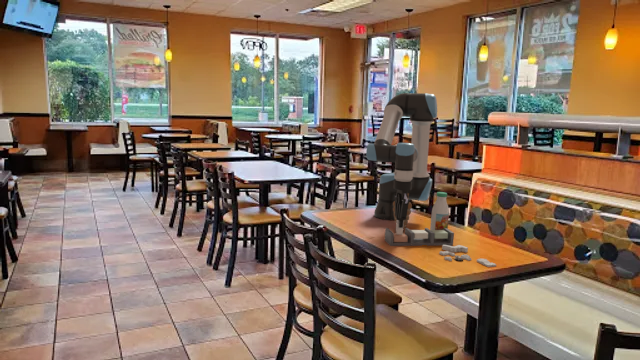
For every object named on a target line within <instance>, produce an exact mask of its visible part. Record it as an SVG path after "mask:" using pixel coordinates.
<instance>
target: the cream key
mask: <svg viewBox="0 0 640 360" xmlns="http://www.w3.org/2000/svg"><path fill="white" fill-rule="evenodd" d="M410 230H411V231H412V232H413V233H414V239H428V233H427V232H426V231H425V229H410Z"/></svg>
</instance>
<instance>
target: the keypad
mask: <svg viewBox="0 0 640 360" xmlns="http://www.w3.org/2000/svg"><path fill="white" fill-rule="evenodd" d="M384 229H385V231H384V241H385V243H387V244H388V245H389V247H396V246H398V247H402V246H406V247H408V246H410V247H411V246H413V247H415V246H420V247H421V246H422V245H427V247H428V246H442V245H449V246H454V239H455V232H454V231H452V230H450V228H448V229H447V228H444V231H446V232H447V233H448V238H443V239H434V232H432V231H431V230H430V228H428V227H424V230H425V231H426V232H427V233H428V239H414V233H413V232H412V231H411V230H412V229H410V228H408V227H406V228H405V229H404V234H406V235H407V236H408V241H407V242H393V238H394V233H395V232H393V231H392V230H391V229H390V228H388V227H385V228H384Z"/></svg>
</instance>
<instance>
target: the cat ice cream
mask: <svg viewBox="0 0 640 360" xmlns="http://www.w3.org/2000/svg"><path fill="white" fill-rule="evenodd" d="M408 196H409V193H408ZM407 199H409V198H407ZM393 206H394V207H393V211H394V217H395V220H394V222H395V224H396V221H397V219H396V216H395V201H394V202H393ZM412 208H413V205H412V202H409V204H408V210H407V216H406V220H404V225H403V231H405V228H407V225H408V224H409V223H408V222H409V220H410V215H411V214H412V210H411V209H412Z"/></svg>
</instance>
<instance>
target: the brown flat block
mask: <svg viewBox="0 0 640 360" xmlns="http://www.w3.org/2000/svg"><path fill="white" fill-rule="evenodd" d="M393 233H394V238H393V242H407V241H408V236H407V235H406V234H405V232H403V235H396V232H393Z"/></svg>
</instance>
